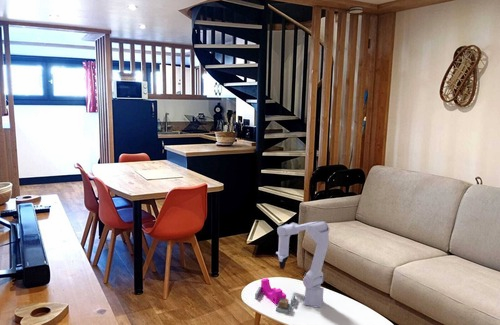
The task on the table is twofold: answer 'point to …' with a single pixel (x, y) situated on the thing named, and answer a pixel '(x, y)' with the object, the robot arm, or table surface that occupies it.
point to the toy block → (271, 292)
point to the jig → (278, 303)
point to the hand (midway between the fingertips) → (282, 268)
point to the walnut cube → (283, 303)
